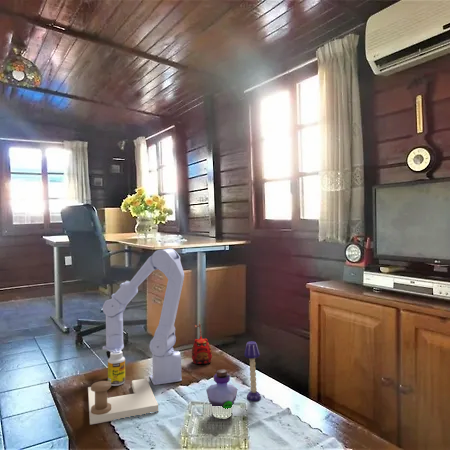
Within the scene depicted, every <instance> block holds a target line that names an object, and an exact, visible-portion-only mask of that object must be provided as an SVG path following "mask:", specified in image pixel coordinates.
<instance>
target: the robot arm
mask: <svg viewBox="0 0 450 450" xmlns="http://www.w3.org/2000/svg"><path fill="white" fill-rule="evenodd" d="M157 270H159V271H160V272H162V274H164V276H165V277H166V279H167V284H166V287H165V288H166V289H165V293H164V296H163V297H164V299H163V302H162V308H161V312H160V318H159V320H158V321H159V323H158V325H157V327H156V329H155V331H154V334H153V337H152V338H151V340H150V342H149V351H150V353H152V354H151V356H152V357H151V359H152V363H151V364H152V374H150V375H149V378H150V381H151V382H152V384H153V386H158V385H164V384H170V383H176V382H181V381H183V380H182V379H183V378H182V356H181V352H180V351H179V350H174V346H175V344H176V340H177V337H176V327H175V324H176V323H175V322H176V318H177V314H178V309H179V303H180V299H181V295H182V290H183V284H184V282H185V281H184V279H185V271H184V268H183V266H182V262H181V256H180V255H179V253H178V252H177V251H176V250H175V249H173V248H171V247H167V248H164V249H157V250H155V251H154V252H153V253H152V255H151V256H149V257H148V258H147V259H146V261H145V262H144V263H143V264H142V266H141V267H140V269H138V271H137V272H136V273H135V274H134V275H133V277H132V279H130V281H124V282H121V283H120V284H119V288H118V289H117V290H116V291H115V293H112V294H111V298H110V299H106V300H104V303H103V305H102V312H103V314H104V315H105V345H104V346H102V350H103V351H105V350H106V351H105V354H106V357H107V358H108V359H109V358H110V353H111V352H113V354H115V353H120V351H122V352H123V355H124V348H125V344H124V312H125V310H126V308H127V305H128V304H129V303H130V302H131V301H132V300H133V298H135V296H137V294H138V292H139V286H140V285H142V283H143V282H144V281H145V280H147V278H148V277H149V275H151V274H152V273H153V272H154V271H157ZM114 351H115V352H114ZM117 351H119V352H117ZM108 359H107V360H108Z"/></svg>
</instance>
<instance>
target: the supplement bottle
mask: <svg viewBox="0 0 450 450" xmlns="http://www.w3.org/2000/svg"><path fill="white" fill-rule="evenodd" d="M114 352H115V351H114ZM117 352H119V351H117ZM123 352H124V351H123ZM123 352H122V351H120V353H115V354H113V352H111V353H110V358H109V359H107V381H108V382H110V383H111V387H112V386H113V387H117V386H121V385H124V384H125V382H126V357H125V356H124V354H123Z"/></svg>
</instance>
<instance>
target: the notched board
mask: <svg viewBox="0 0 450 450" xmlns="http://www.w3.org/2000/svg"><path fill="white" fill-rule="evenodd" d="M111 388H112V386H111V383H110V382H108V380H99V381H95V382H94V383H93V382H92V384H91V385H90V386H88V387H87V393H88V412H89V413H88V415H89V426H90V425H96V424H101V423H107V422H112V420H113V421H115V420H114V419H118V420H121V419H120V418H124V419H126V418H125V417H129V418H131V417H130V416H134V417H136V416H135V415H140V416H143V415H142V414H145V415H147V414H146V413H150V412H155V411H158V412H159V403H158V401H157V399H156V397H155V395H154V392H153V389H152V388H151V386H150V383H149V381H148V379H147V378H141V379H134V380H131V389H132V391H133V393H129V394H124V395H123V394H122V395H117V396H112V397H111V396H110V397H108V390H110V389H111Z"/></svg>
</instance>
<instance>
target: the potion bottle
mask: <svg viewBox="0 0 450 450" xmlns="http://www.w3.org/2000/svg"><path fill="white" fill-rule="evenodd" d="M230 380H231V375H230V374H229V373H228V370H227V369H218V370H216V372H215V374H214V375H213V382H215V384H211V385H210V386H208V388H207V389H206V390H205V391H206V395H207V396H206V397H207V399H208V400H207V401H208V402H209V403H210V404H212V406H222V407H223V408H225V409H226V408H227V409H228V408H231V407H232V405H233V404H234V405H235V401H236V400H237V395H238V388H237V387H236V386H235V385H233V384H231V383H229V382H230Z"/></svg>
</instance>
